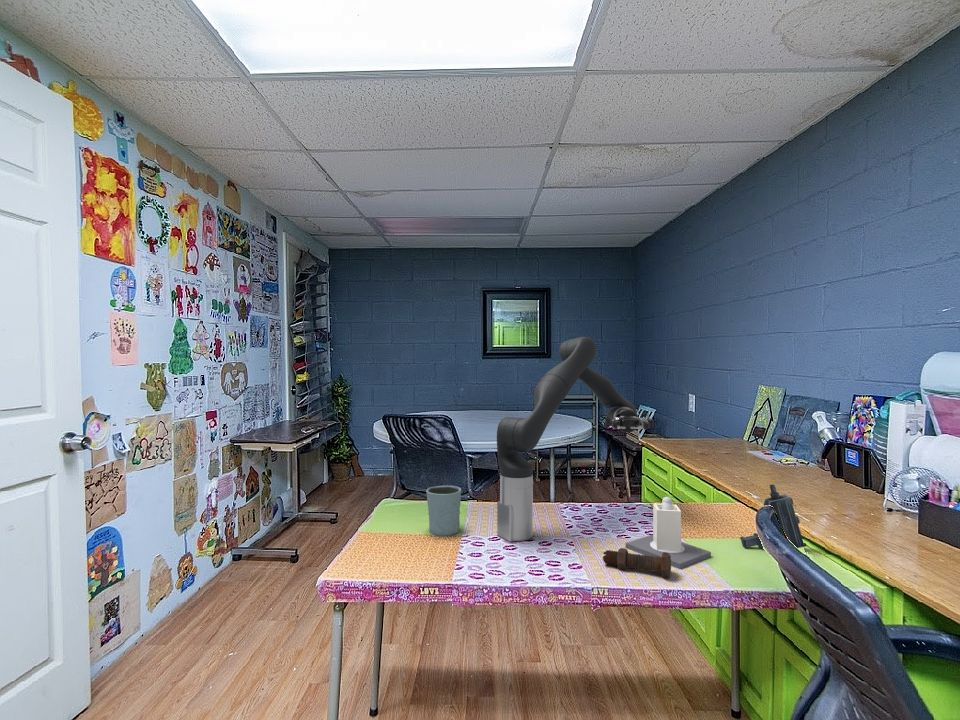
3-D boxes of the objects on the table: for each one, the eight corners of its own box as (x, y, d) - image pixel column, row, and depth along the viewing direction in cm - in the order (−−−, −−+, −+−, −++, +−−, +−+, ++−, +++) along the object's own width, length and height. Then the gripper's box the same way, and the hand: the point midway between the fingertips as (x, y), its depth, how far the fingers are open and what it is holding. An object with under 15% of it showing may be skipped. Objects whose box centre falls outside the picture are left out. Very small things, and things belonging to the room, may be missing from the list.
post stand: (679, 568, 117) (679, 509, 117) (625, 547, 130) (625, 493, 130) (710, 556, 124) (710, 500, 124) (656, 537, 137) (656, 486, 137)
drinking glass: (452, 538, 136) (452, 495, 136) (420, 534, 140) (420, 492, 140) (466, 527, 146) (466, 486, 146) (435, 523, 149) (435, 483, 149)
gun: (727, 493, 132) (784, 480, 130) (744, 554, 131) (801, 542, 130) (731, 496, 129) (789, 482, 128) (748, 558, 129) (807, 545, 127)
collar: (681, 551, 124) (681, 511, 124) (656, 549, 125) (656, 510, 125) (676, 542, 129) (676, 504, 129) (653, 541, 130) (653, 503, 130)
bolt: (605, 570, 120) (670, 581, 113) (600, 567, 116) (668, 577, 110) (607, 546, 123) (671, 554, 116) (602, 541, 119) (668, 550, 112)
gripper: (603, 407, 163) (606, 412, 147) (648, 408, 160) (656, 413, 144) (603, 430, 163) (606, 437, 147) (648, 431, 160) (656, 439, 144)
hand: (631, 425), depth 146 cm, fingers open, 8 cm apart
